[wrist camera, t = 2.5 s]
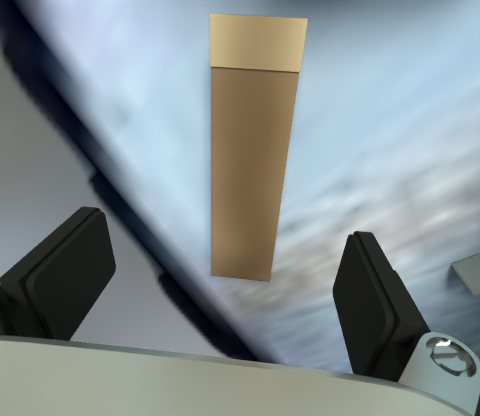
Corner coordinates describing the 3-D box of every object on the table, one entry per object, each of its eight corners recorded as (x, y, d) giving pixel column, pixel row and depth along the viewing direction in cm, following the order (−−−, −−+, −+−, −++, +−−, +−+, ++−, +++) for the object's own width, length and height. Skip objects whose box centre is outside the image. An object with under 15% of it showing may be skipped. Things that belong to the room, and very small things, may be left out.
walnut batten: (218, 244, 23) (210, 276, 20) (222, 18, 15) (209, 13, 12) (270, 249, 23) (270, 282, 19) (300, 22, 15) (307, 18, 12)
